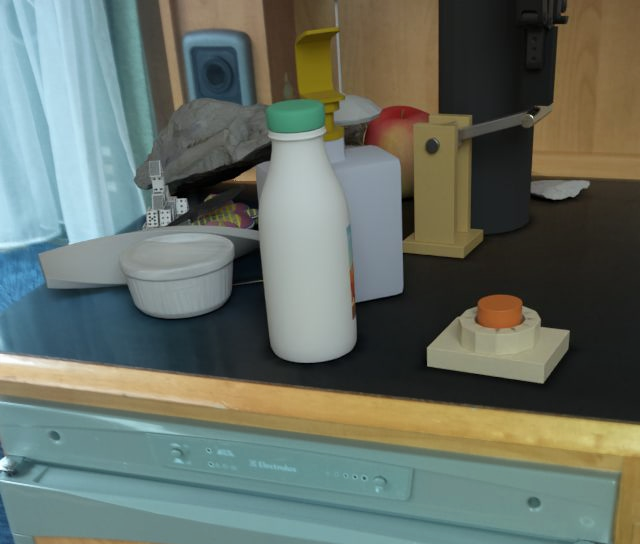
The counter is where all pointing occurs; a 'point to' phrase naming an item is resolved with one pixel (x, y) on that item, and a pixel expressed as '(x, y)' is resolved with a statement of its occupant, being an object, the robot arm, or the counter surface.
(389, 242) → the soap bottle
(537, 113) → the lever
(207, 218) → the decorative ornament
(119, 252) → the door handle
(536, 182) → the stone
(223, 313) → the counter surface
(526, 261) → the counter surface
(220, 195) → the machete
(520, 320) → the button
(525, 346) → the button block
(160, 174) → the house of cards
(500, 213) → the vase
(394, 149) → the apple
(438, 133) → the bracket
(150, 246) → the ramekin
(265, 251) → the milk bottle
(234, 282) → the knife
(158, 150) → the stone
